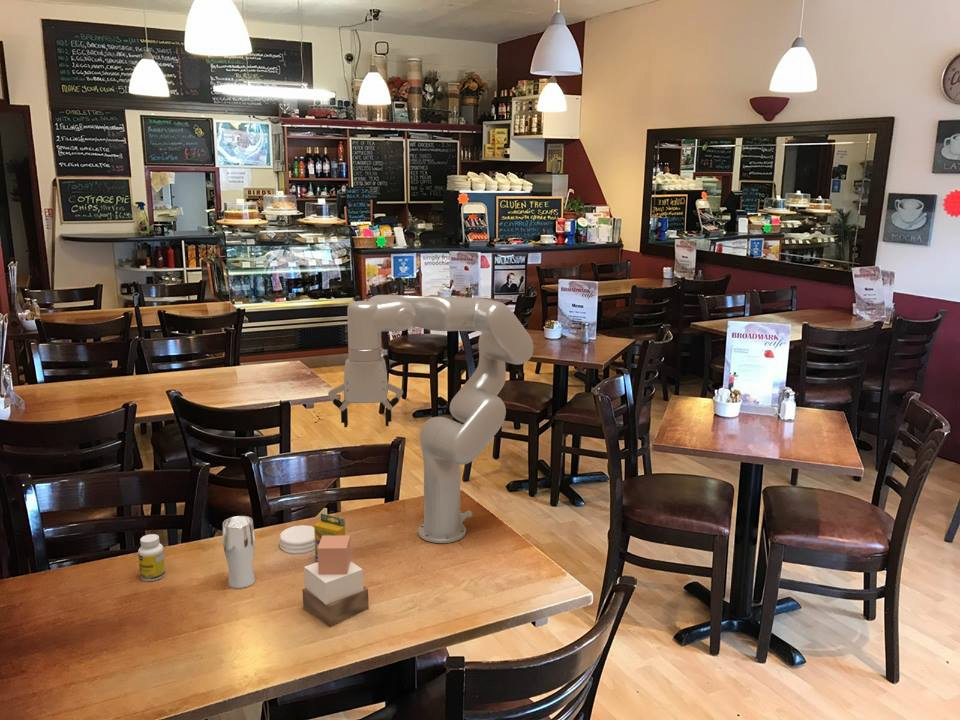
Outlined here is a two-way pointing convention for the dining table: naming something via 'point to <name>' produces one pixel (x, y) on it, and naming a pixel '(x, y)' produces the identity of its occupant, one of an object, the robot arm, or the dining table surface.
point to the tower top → (333, 583)
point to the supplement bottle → (151, 558)
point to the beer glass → (239, 550)
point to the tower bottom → (335, 607)
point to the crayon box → (327, 529)
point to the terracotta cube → (334, 555)
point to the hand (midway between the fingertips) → (366, 425)
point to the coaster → (298, 539)
